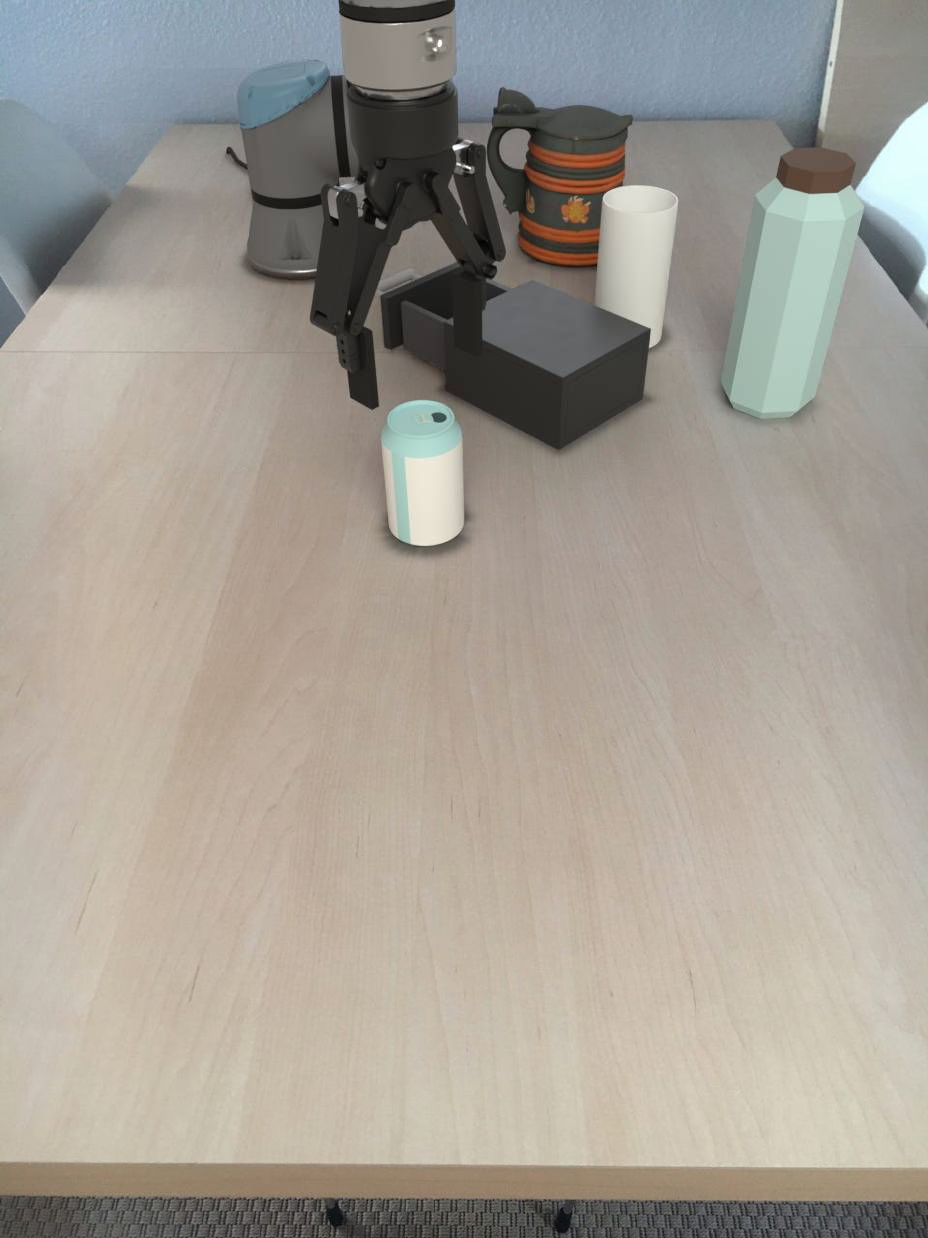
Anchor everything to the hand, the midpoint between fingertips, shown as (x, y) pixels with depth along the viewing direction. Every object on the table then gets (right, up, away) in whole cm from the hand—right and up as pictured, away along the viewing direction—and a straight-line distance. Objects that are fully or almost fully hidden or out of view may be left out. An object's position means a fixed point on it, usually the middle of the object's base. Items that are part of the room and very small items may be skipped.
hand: (418, 375), depth 82 cm
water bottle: (+37, +4, +26) cm, 45 cm away
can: (0, -12, +11) cm, 16 cm away
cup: (+23, +14, +37) cm, 46 cm away
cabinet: (+13, +5, +28) cm, 31 cm away
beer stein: (+17, +32, +56) cm, 66 cm away
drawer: (+2, +13, +35) cm, 37 cm away
